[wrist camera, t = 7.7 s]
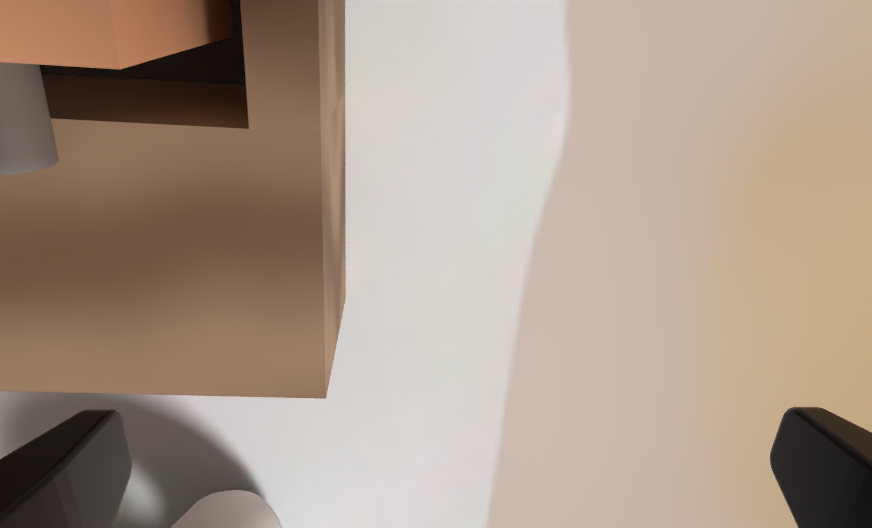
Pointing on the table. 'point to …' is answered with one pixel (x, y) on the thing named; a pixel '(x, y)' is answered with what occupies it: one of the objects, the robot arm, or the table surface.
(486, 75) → the table surface
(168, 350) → the wooden divided tray
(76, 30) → the staple
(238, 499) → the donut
